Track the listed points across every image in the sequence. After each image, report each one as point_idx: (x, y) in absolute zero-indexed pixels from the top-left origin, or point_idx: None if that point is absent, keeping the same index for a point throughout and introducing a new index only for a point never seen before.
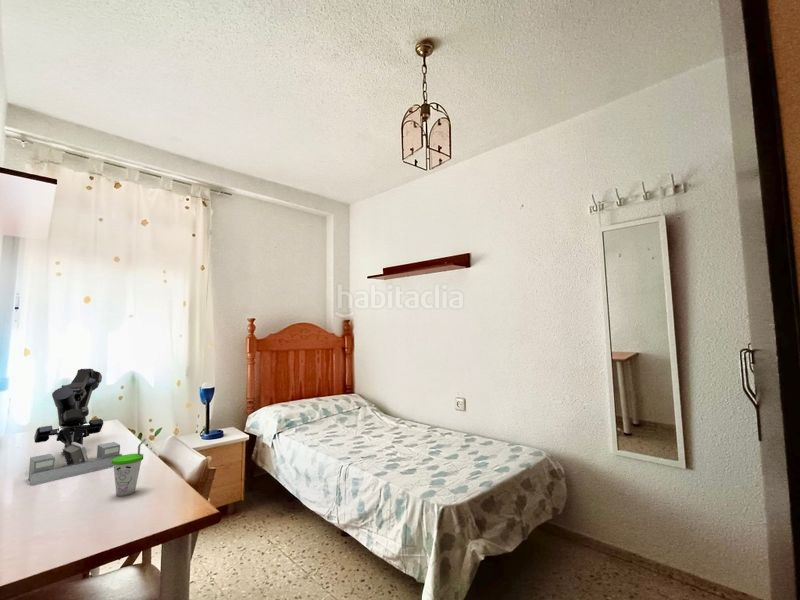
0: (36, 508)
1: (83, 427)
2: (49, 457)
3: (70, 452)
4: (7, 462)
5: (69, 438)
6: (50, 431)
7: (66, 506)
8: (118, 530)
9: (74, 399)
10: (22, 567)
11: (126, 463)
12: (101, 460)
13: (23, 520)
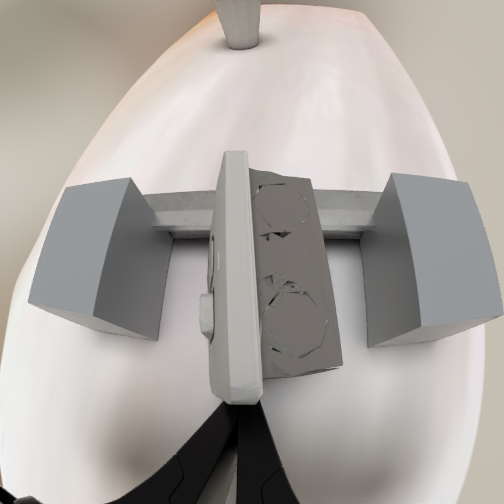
0: (373, 70)
1: (26, 501)
2: (419, 197)
3: (310, 184)
4: None
5: (260, 483)
6: None
7: (329, 51)
8: (289, 10)
9: None
10: (357, 14)
11: None
12: (171, 196)
13: (380, 54)
